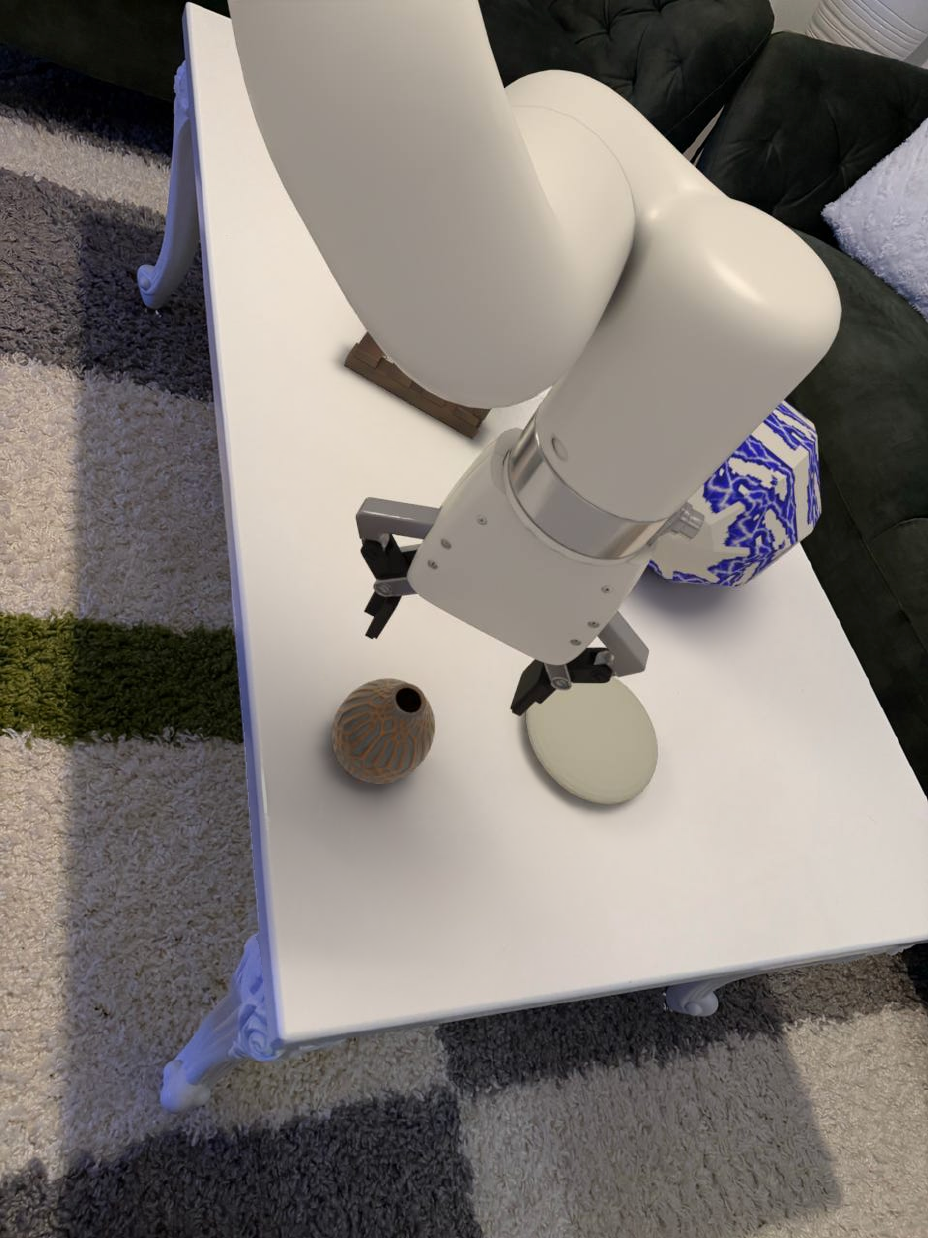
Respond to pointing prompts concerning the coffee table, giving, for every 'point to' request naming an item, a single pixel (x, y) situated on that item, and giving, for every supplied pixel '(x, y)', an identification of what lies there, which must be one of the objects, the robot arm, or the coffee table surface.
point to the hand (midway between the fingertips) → (450, 658)
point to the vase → (383, 730)
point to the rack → (411, 388)
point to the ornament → (750, 507)
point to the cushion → (595, 741)
